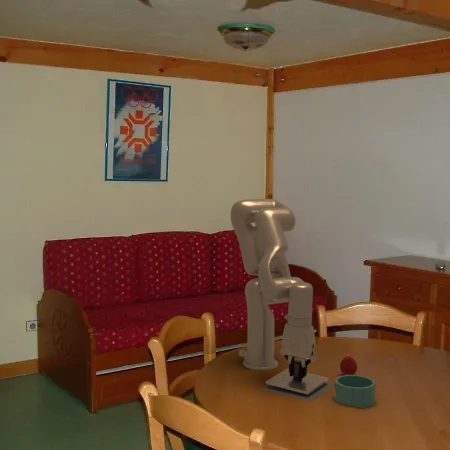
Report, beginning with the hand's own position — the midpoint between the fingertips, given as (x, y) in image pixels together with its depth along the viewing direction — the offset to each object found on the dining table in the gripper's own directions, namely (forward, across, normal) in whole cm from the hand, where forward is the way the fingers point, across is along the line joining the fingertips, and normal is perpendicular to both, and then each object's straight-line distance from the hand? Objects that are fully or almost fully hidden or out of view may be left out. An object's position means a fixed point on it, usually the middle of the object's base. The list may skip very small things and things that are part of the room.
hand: (297, 375), depth 211 cm
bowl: (+3, +20, 0) cm, 20 cm away
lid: (+2, 0, 0) cm, 2 cm away
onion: (+4, +10, +18) cm, 21 cm away
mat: (+4, +1, 0) cm, 4 cm away
